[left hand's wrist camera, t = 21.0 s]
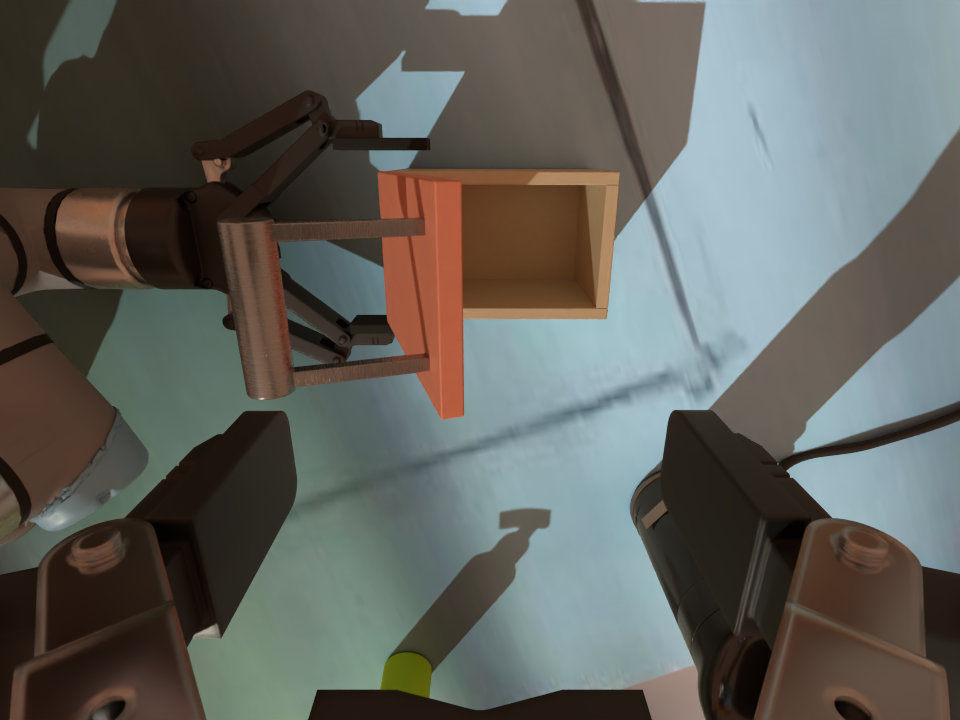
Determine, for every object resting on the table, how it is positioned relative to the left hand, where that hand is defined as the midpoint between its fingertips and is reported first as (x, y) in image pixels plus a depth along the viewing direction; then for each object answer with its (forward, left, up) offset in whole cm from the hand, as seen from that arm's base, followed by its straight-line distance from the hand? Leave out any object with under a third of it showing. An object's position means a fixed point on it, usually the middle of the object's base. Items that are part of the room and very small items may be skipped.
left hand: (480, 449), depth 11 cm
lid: (+3, -1, -19) cm, 19 cm away
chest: (-2, 0, -37) cm, 37 cm away
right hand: (+4, -1, -31) cm, 31 cm away
